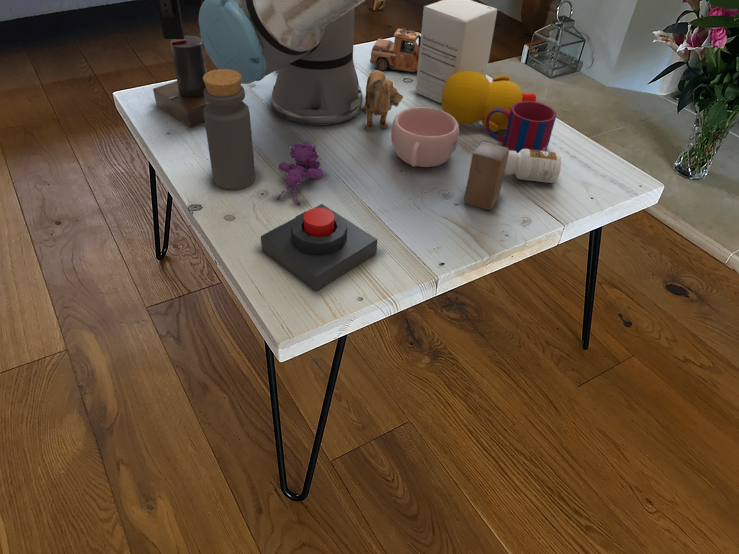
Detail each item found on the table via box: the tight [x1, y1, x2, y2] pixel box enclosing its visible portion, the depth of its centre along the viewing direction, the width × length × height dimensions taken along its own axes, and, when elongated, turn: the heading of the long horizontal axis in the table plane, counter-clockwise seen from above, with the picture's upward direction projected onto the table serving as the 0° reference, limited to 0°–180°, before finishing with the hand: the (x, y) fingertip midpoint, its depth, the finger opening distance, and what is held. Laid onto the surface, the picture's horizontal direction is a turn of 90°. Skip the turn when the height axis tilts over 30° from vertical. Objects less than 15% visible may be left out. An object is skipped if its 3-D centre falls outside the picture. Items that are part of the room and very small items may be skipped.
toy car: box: [369, 27, 421, 74], centre depth 114 cm, size 6×12×7 cm, turn 84°
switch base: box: [260, 203, 378, 292], centre depth 73 cm, size 10×10×4 cm
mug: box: [390, 106, 460, 168], centre depth 89 cm, size 12×10×6 cm
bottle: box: [203, 68, 256, 191], centre depth 80 cm, size 6×6×15 cm
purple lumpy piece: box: [275, 140, 325, 205], centre depth 83 cm, size 7×6×8 cm
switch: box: [304, 207, 334, 237], centre depth 71 cm, size 4×4×2 cm
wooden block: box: [463, 140, 509, 211], centre depth 82 cm, size 4×4×8 cm
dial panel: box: [152, 80, 209, 129], centre depth 99 cm, size 10×9×3 cm
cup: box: [485, 101, 557, 153], centre depth 93 cm, size 7×10×7 cm
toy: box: [441, 70, 537, 133], centre depth 98 cm, size 9×9×15 cm
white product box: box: [414, 0, 498, 105], centre depth 103 cm, size 9×9×15 cm
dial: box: [169, 35, 208, 97], centre depth 95 cm, size 5×5×8 cm
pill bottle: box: [504, 149, 562, 184], centre depth 87 cm, size 4×4×8 cm
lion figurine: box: [361, 69, 404, 131], centre depth 98 cm, size 15×5×9 cm, turn 11°
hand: (184, 21), depth 91 cm, fingers open, 13 cm apart
